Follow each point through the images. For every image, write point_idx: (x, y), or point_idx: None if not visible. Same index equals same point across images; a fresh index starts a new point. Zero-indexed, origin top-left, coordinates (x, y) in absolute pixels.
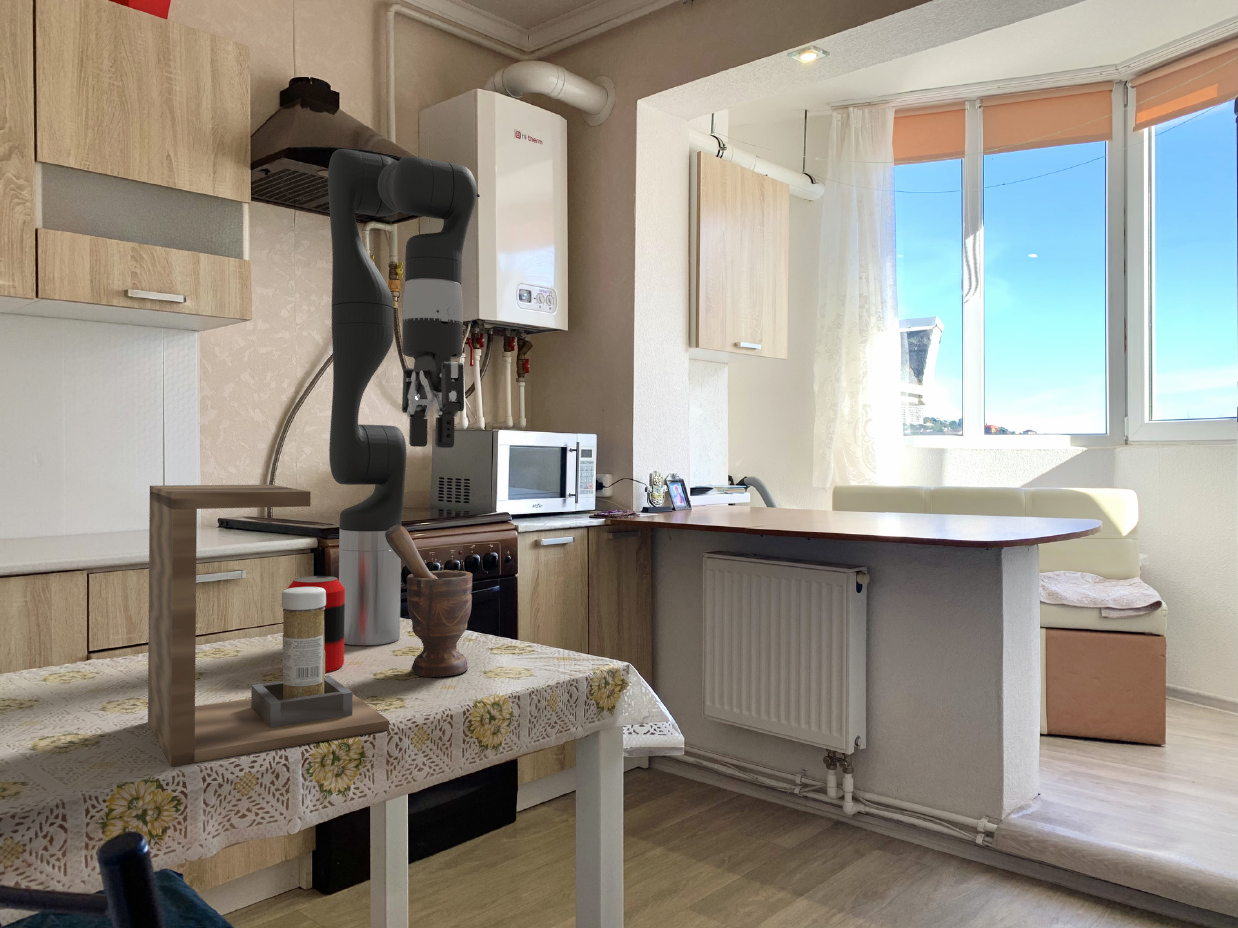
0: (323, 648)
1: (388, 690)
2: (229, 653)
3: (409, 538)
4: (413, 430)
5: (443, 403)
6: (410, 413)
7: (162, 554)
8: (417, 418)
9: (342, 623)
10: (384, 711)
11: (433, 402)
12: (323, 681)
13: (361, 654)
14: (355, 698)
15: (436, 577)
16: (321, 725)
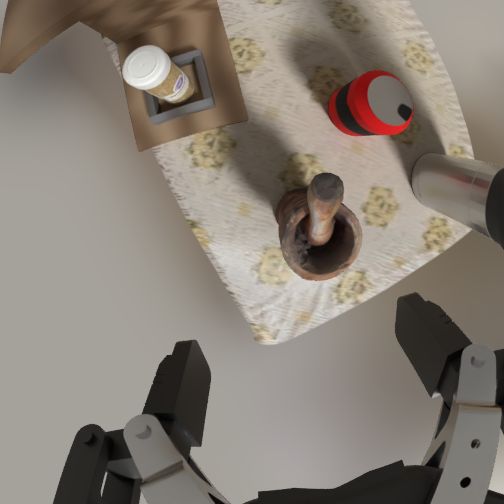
0: (156, 95)
1: (249, 158)
2: (416, 63)
3: (314, 210)
4: (421, 330)
5: (87, 445)
6: (462, 364)
7: None
8: (441, 372)
9: (357, 130)
10: (186, 149)
11: (173, 466)
12: (167, 100)
13: (386, 159)
14: (203, 127)
15: (317, 236)
16: (140, 105)
